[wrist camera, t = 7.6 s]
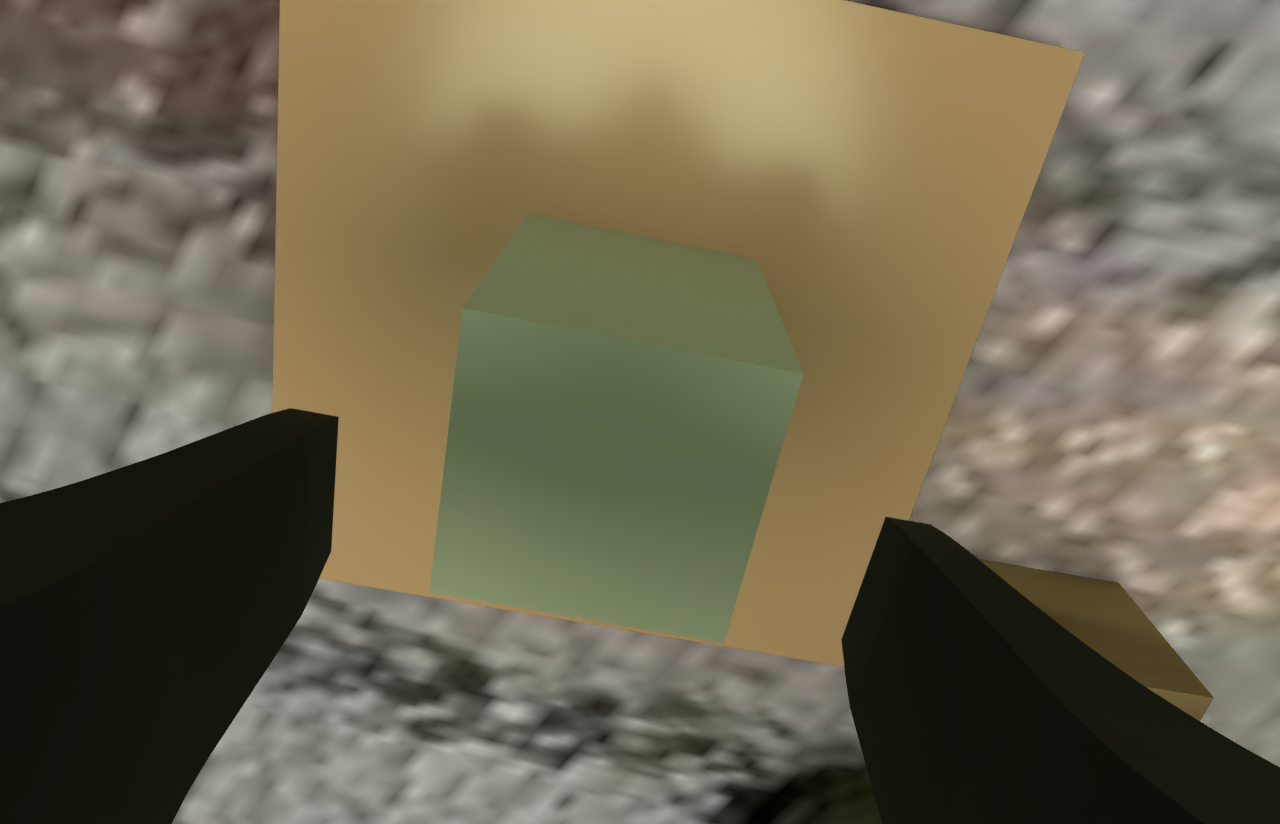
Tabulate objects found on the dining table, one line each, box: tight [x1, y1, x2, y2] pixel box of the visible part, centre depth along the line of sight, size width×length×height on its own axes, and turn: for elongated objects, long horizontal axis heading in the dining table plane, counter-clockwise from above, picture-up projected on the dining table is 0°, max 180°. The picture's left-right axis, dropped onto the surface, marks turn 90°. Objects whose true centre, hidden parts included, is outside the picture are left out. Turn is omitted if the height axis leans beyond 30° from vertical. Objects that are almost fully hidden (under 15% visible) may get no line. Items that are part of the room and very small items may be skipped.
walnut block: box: [979, 559, 1213, 721], centre depth 20 cm, size 4×4×4 cm
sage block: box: [429, 214, 804, 643], centre depth 15 cm, size 4×4×6 cm
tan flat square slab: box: [272, 0, 1085, 667], centre depth 18 cm, size 14×14×1 cm
